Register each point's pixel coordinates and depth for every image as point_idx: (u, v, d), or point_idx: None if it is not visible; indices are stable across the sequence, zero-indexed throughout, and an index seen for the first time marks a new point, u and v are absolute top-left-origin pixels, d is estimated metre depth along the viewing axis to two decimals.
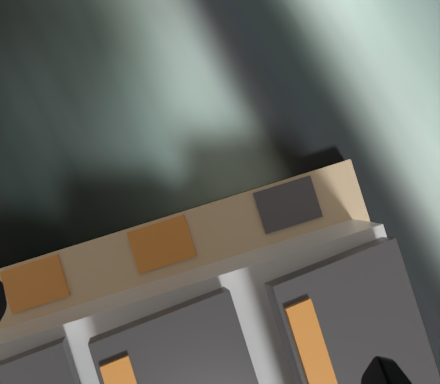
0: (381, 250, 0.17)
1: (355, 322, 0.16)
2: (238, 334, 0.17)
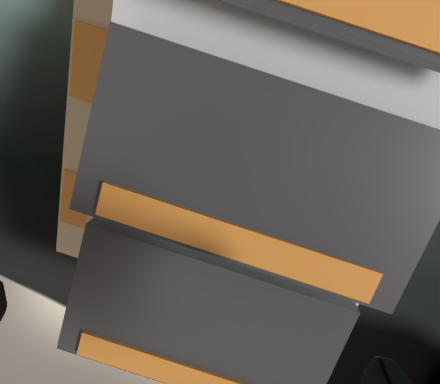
0: None
1: None
2: (171, 49, 0.12)
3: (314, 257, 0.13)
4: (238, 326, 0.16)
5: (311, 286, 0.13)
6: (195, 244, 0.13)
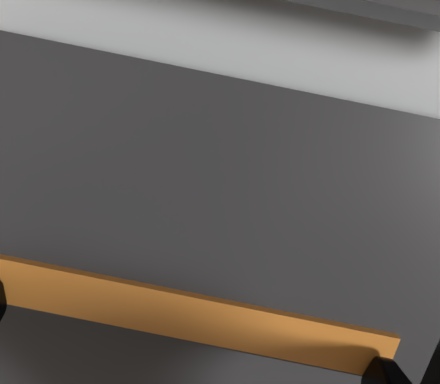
0: None
1: None
2: (38, 49, 0.08)
3: (298, 326, 0.09)
4: None
5: None
6: (128, 324, 0.09)
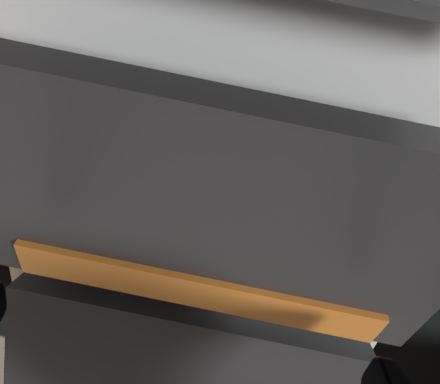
0: None
1: None
2: (18, 78, 0.07)
3: (298, 307, 0.10)
4: None
5: None
6: (149, 295, 0.11)
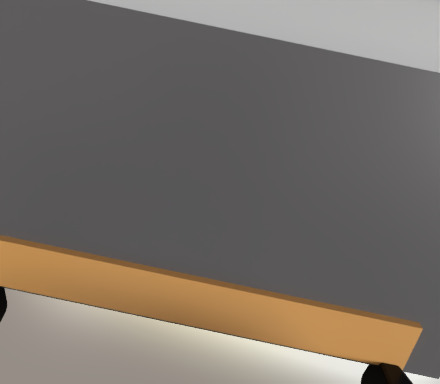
0: None
1: None
2: None
3: None
4: (291, 178, 0.07)
5: None
6: None
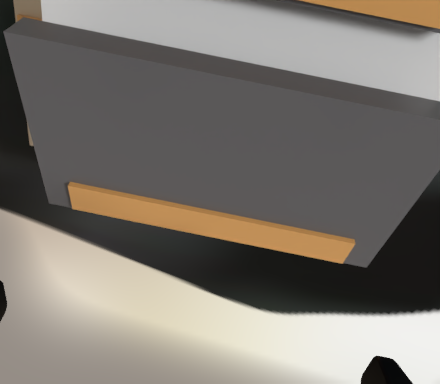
0: None
1: None
2: None
3: None
4: (272, 161, 0.11)
5: (365, 15, 0.10)
6: None
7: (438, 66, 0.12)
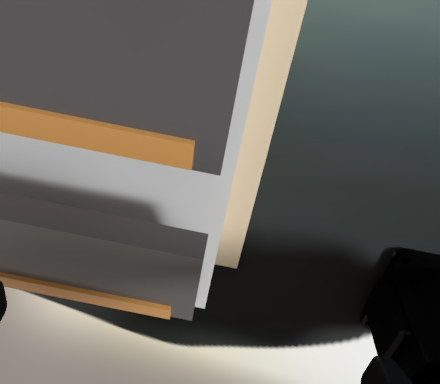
0: None
1: None
2: None
3: (120, 134, 0.12)
4: (80, 263, 0.14)
5: None
6: (6, 131, 0.13)
7: (216, 181, 0.15)
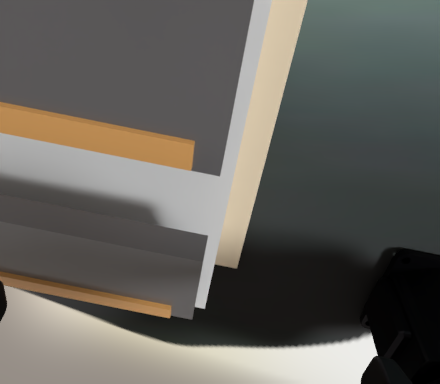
0: None
1: None
2: None
3: (120, 134, 0.12)
4: (80, 264, 0.14)
5: None
6: (6, 131, 0.13)
7: (216, 181, 0.15)
